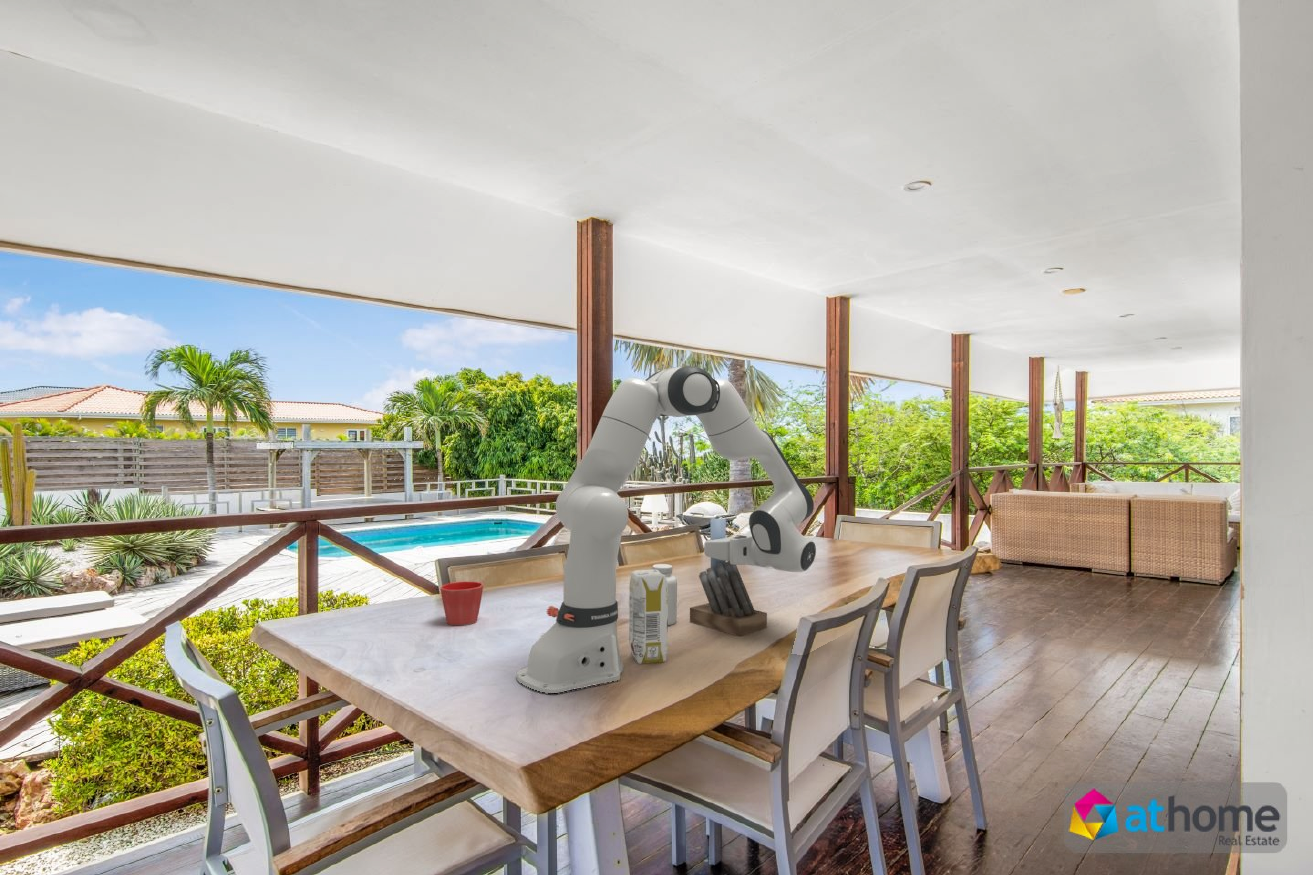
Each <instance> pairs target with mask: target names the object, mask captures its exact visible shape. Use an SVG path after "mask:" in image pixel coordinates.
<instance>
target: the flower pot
mask: <svg viewBox="0 0 1313 875" xmlns="http://www.w3.org/2000/svg"><path fill="white" fill-rule="evenodd" d="M483 590H484V583H482V582H478V581H454V582H450V583H446V584H443V585H441V587H440V594H441V601H442V605H443V610H444V614H445V616H444V617H445V621H446V623H447V625H450V626H467V625H472V624H475V623H476V622H478V618H479V614H480V608H481V602H482V596H483Z"/></svg>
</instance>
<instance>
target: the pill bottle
mask: <svg viewBox="0 0 1313 875" xmlns="http://www.w3.org/2000/svg"><path fill="white" fill-rule="evenodd" d="M651 570H658V571H659V572H660V573H661V574H664V575H666V580H667V585H668V626H670V625H674V624H676V623H677V616H678V615H677V614H678V613H677V612H678V611H677V610H678V580H677V578H676V576H675V575H673V566H672V565H671V564H667V563H656V564H653V565H652V569H651Z"/></svg>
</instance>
